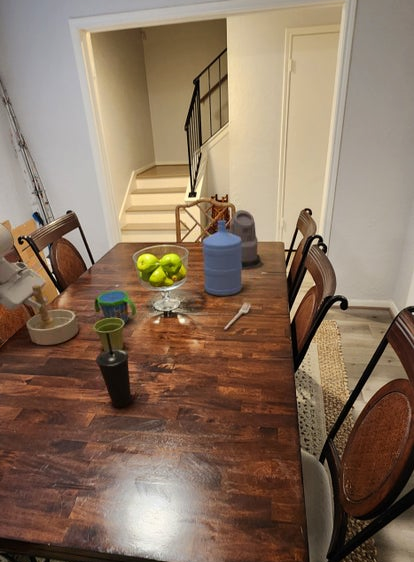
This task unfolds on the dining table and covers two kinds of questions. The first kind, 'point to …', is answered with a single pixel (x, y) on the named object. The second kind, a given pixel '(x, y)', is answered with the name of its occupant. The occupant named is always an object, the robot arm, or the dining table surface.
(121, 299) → the snack cup
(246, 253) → the machine
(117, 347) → the plant pot
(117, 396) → the drinking cup
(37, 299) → the wooden pestle
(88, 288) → the dining table surface
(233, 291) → the water jug
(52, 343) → the bowl
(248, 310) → the fork
